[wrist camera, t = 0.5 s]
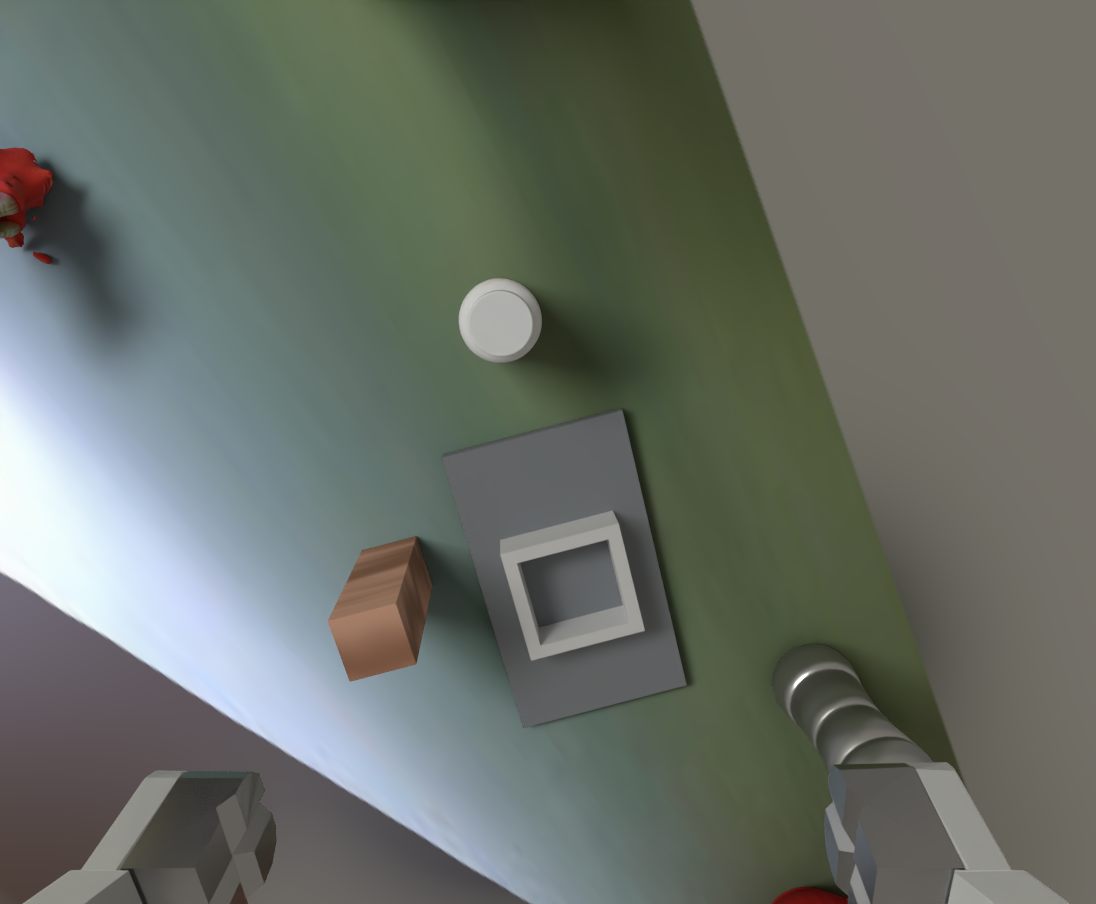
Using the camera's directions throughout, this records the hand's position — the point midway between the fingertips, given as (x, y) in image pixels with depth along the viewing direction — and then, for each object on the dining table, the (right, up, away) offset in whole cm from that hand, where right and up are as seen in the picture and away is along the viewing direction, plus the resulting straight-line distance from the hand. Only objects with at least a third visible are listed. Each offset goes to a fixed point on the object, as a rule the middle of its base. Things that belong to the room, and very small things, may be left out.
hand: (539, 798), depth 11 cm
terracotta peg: (-12, -4, +48) cm, 50 cm away
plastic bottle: (+22, -13, +53) cm, 59 cm away
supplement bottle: (-3, +15, +44) cm, 47 cm away
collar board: (+2, -5, +49) cm, 49 cm away
